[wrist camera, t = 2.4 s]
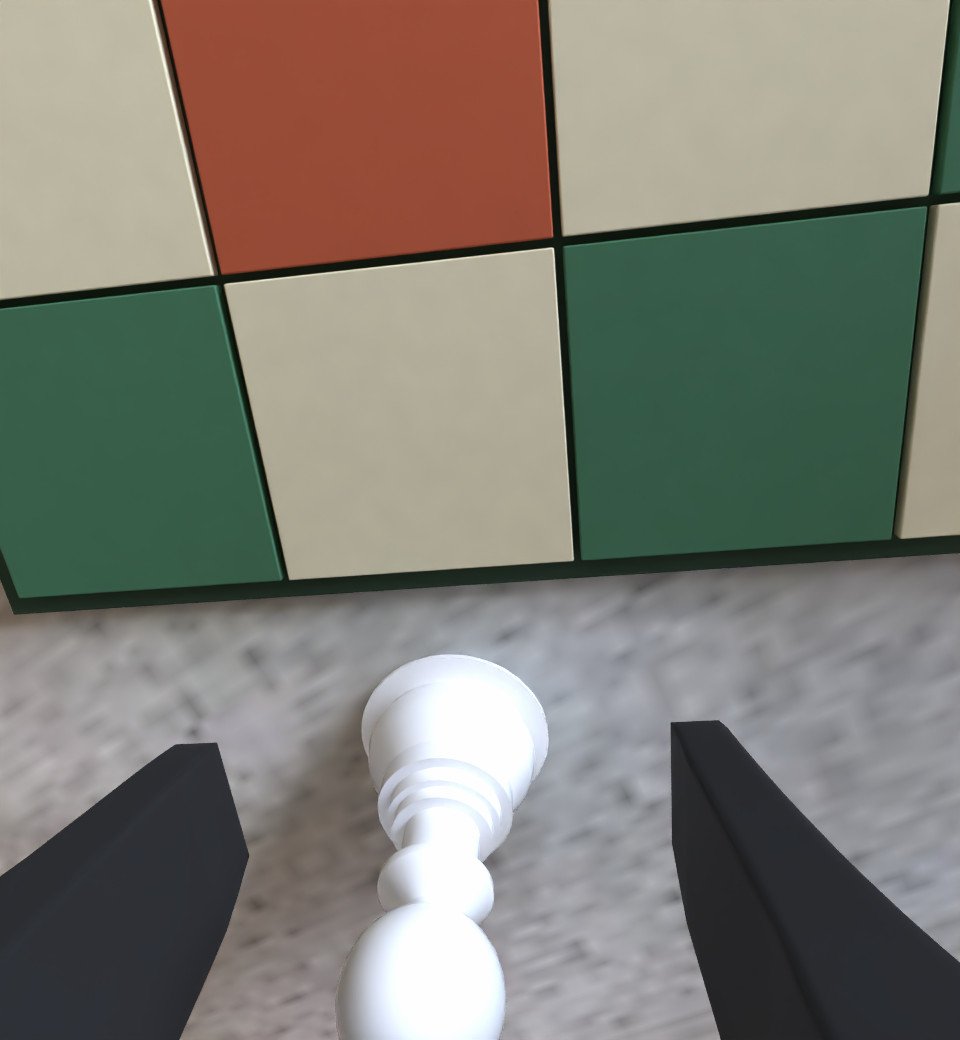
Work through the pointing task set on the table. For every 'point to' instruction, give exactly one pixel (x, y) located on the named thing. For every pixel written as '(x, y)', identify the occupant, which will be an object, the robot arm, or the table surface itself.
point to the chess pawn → (439, 847)
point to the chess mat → (471, 292)
